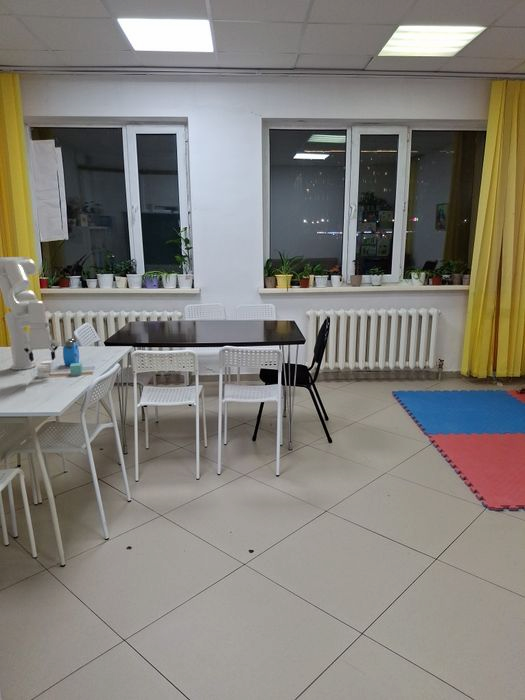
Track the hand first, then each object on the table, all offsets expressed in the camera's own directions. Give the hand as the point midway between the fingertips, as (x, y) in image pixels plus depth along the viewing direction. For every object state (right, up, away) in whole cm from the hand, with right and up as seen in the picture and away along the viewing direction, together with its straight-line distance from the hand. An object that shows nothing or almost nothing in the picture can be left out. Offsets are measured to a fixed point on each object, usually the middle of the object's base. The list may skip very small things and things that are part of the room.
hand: (42, 360), depth 232 cm
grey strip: (+7, -7, +15) cm, 18 cm away
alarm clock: (+4, -4, +27) cm, 27 cm away
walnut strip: (+10, -9, +5) cm, 14 cm away
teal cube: (+14, -7, +6) cm, 17 cm away
